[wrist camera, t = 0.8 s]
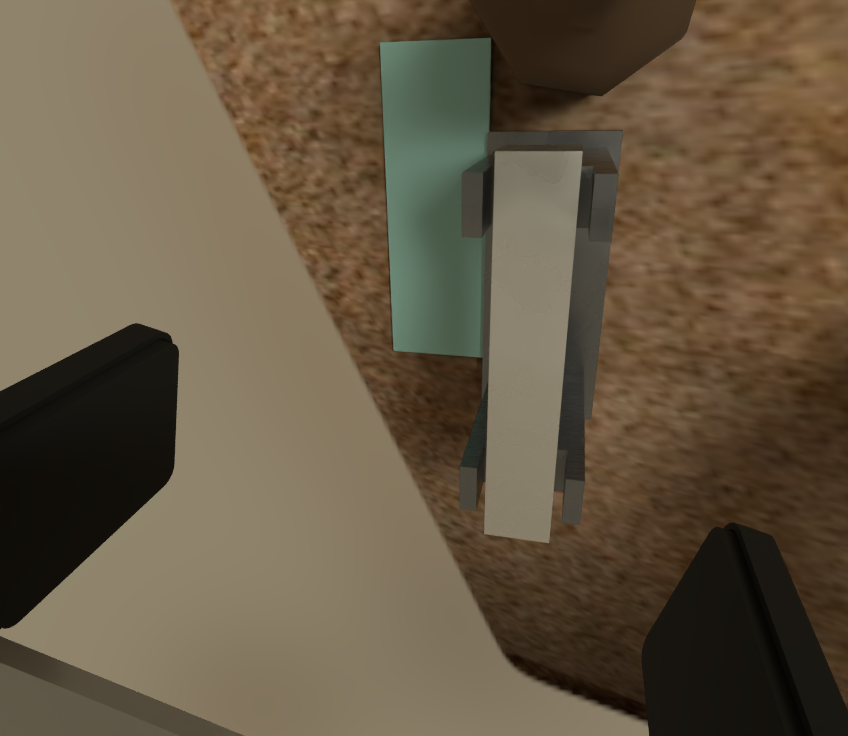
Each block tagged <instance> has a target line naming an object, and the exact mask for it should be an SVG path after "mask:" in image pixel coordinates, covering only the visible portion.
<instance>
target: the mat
mask: <svg viewBox="0 0 848 736" xmlns="http://www.w3.org/2000/svg"><path fill="white" fill-rule="evenodd" d="M380 57H381V79H382V102H383V124H384V147H385V169H386V192H387V214H388V237H389V259H390V282H391V304H392V327H393V350H394V351H403V352H416V353H429V354H442V355H455V356H468V357H481V358H482V357H483V314H484V270H485V234H484V235H483V237H482V238H468V237H461V195H462V172H464V171H465V170H467V169H468V168H470V167H471V166H473V165H474V164H476V163H477V162H479V161H480V160H482V159H483V158H485V157H487V140H488V132H489V131H490V100H491V59H492V38H473V39H450V40H427V41H404V42H381V43H380Z"/></svg>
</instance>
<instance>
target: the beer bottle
mask: <svg viewBox="0 0 848 736" xmlns="http://www.w3.org/2000/svg"><path fill="white" fill-rule="evenodd" d="M470 2H471V4H472V5H473V7H474V9H475V10H476V12H477V14H478V15H479V17H480V19H481V20H482V22H483V24H484V25H485V27H486V29H487V30H488V32H489V33H490V35H491V37H492V38H493V40H494V42H495V43H496V45H497V47H498V48H499V50H500V51H501V53H502V55H503V56H504V58H505V60H506V61H507V63H508V65H509V66H510V68H511V70H512V71H513V73H514V74H515V76H516V78H517V79H518V81H519V83H523V84H529V85H535V86H541V87H548V88H554V89H560V90H566V91H572V92H578V93H584V94H590V95H596V96H603V95H604V94H606V93H607V92H608V91H610V90H611V89H613V88H614V87H615V86H617V85H618V84H620V83H621V82H622V81H624V80H625V79H626V78H628V77H629V76H631V75H632V74H633V73H635V72H636V71H638V70H639V69H640V68H642V67H643V66H645V65H646V64H647V63H649V62H650V61H652V60H653V59H654V58H656V57H657V56H659V55H660V54H661V53H663V52H664V51H665V50H667V49H668V48H670V47H671V46H672V45H674V44H675V43H677V42H678V41H679V40H681V39H682V38H683V36H684V35H685V33H686V32H687V29H688V26H689V22H690V19H691V16H692V12H693V9H694V6H695V2H696V0H470Z"/></svg>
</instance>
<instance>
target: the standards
mask: <svg viewBox="0 0 848 736" xmlns="http://www.w3.org/2000/svg"><path fill="white" fill-rule="evenodd" d="M622 135H623V130H562V131H489V132H488V140H487V157H485V158H483V159H482V160H480V161H479V162H477V163H476V164H474V165H473V166H471V167H470V168H468V169H467V170H465V171H464V172H462V195H461V237H468V238H482V237H483V235H484V234H485V270H484V314H483V357H482V401H481V404H480V407H479V410H478V413H477V416H476V419H475V422H474V425H473V428H472V431H471V434H470V437H469V440H468V443H467V446H466V449H465V452H464V455H463V458H462V461H461V464H460V509H466V510H474V511H476V509H477V505H478V501H479V497H480V494H481V490H482V486H483V482H486V454H487V419H488V383H489V348H490V312H491V277H492V241H493V206H494V170H495V151H496V150H498V149H499V148H501V147H502V146H504V145H583V154H582V165H581V177H580V189H579V200H578V212H577V224H576V235H575V247H574V259H573V270H572V282H571V294H570V305H569V317H568V329H567V340H566V352H565V363H564V375H563V387H562V398H561V410H560V422H559V433H558V445H557V457H556V468H555V480H554V491H562V492H563V511H562V523H570V524H577V525H580V518H581V509H582V500H583V491H584V482H585V444H584V419H591V415H592V406H593V397H594V388H595V379H596V370H597V361H598V352H599V343H600V334H601V325H602V316H603V307H604V298H605V289H606V280H607V271H608V262H609V253H610V244H611V240H612V231H613V222H614V213H615V204H616V195H617V186H618V177H619V173H618V171H619V162H620V153H621V144H622Z"/></svg>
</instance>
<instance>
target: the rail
mask: <svg viewBox="0 0 848 736" xmlns="http://www.w3.org/2000/svg"><path fill="white" fill-rule="evenodd" d="M582 154H583V145H504V146H502V147H501V148H499V149H498V150H496V151H495V170H494V206H493V241H492V277H491V312H490V348H489V383H488V419H487V454H486V490H485V525H484V534H489V535H496V536H502V537H509V538H516V539H523V540H530V541H537V542H544V543H549V538H550V526H551V515H552V503H553V492H554V480H555V468H556V457H557V445H558V433H559V422H560V410H561V398H562V387H563V375H564V363H565V352H566V340H567V329H568V317H569V305H570V294H571V282H572V270H573V259H574V247H575V235H576V224H577V212H578V200H579V189H580V177H581V165H582Z"/></svg>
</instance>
